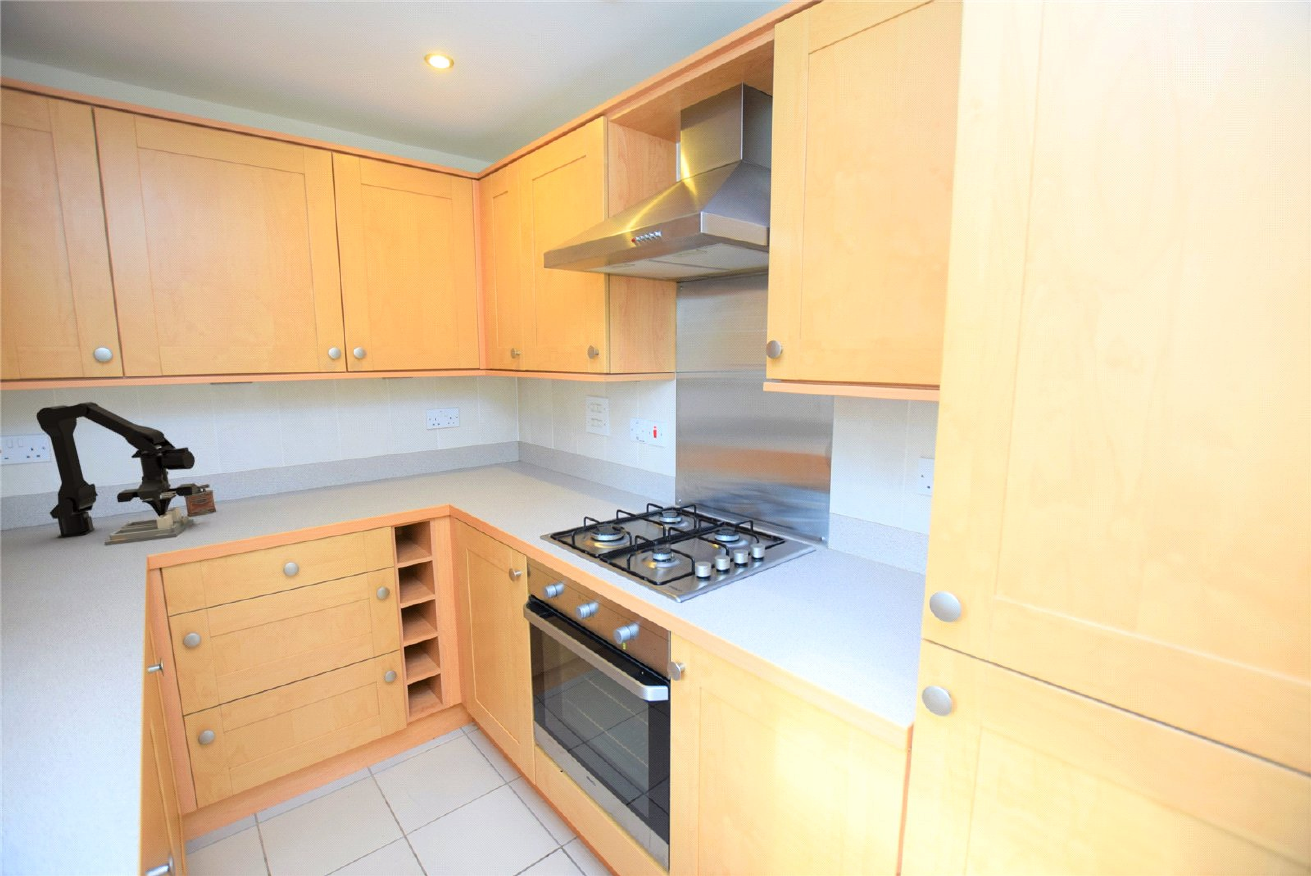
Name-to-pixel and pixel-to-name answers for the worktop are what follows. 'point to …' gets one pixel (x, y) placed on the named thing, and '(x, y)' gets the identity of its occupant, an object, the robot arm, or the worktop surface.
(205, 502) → the lighter
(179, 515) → the tab
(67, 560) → the worktop surface
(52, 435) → the robot arm
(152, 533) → the switch bank
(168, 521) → the tab
